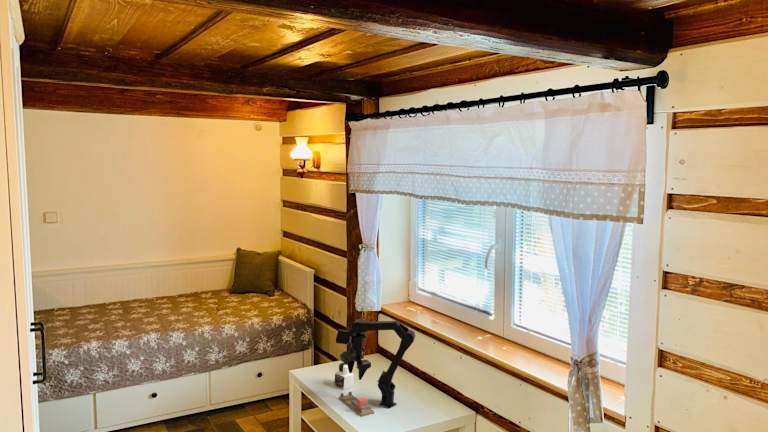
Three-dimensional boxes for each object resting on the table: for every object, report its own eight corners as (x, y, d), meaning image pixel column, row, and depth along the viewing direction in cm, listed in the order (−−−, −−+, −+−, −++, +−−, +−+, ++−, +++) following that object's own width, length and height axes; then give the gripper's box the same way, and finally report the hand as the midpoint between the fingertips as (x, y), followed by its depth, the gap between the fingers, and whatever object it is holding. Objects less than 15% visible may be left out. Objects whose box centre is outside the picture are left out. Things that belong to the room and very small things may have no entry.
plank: (339, 398, 277) (339, 391, 276) (351, 396, 280) (351, 389, 280) (361, 416, 258) (361, 409, 258) (374, 413, 262) (374, 406, 262)
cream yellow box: (334, 385, 292) (335, 363, 291) (344, 382, 297) (345, 360, 296) (343, 390, 287) (344, 367, 286) (353, 386, 293) (354, 364, 291)
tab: (349, 402, 271) (350, 393, 270) (356, 400, 273) (357, 391, 272) (359, 410, 262) (360, 401, 262) (367, 408, 264) (367, 399, 264)
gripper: (333, 341, 276) (331, 372, 278) (352, 353, 261) (350, 385, 262) (352, 339, 283) (350, 369, 284) (372, 350, 267) (370, 382, 269)
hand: (355, 376), depth 275 cm, fingers open, 9 cm apart
